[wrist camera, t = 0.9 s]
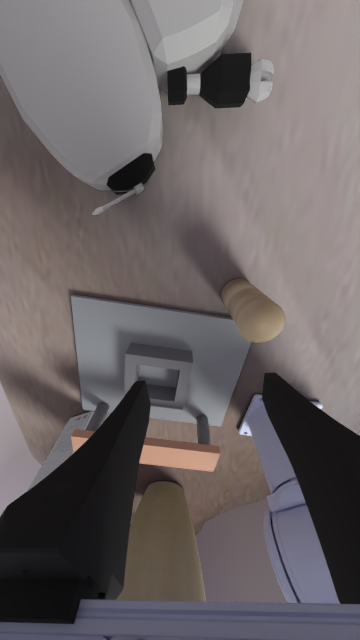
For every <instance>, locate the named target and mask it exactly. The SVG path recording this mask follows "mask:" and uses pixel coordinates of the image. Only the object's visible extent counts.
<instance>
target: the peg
mask: <svg viewBox="0 0 360 640" xmlns="http://www.w3.org/2000/svg"><path fill="white" fill-rule="evenodd" d="M221 297H222V300H223V302H224V304H225V306H226V308H227V310H228V311H229V313H230V315H231V317H232V319H233V321H234V322H235V324H236V326H237V328H238V330H239V331H240V333H241V335H242V336H243V337H244V338H245V339H246V340H248V341H251V342H255V343H261V342H266V341H269V340H271V339H273V338H274V337H276V336H277V335H278V334H279V333H280V332H281V331H282V329H283V327H284V324H285V313H284V311H283V309H282V308H281V307H280V306H279V305H277V304H276V303H275V302H274V301H272V300H271V299H270V298H268V297H267V296H266V295H265V294H263V293H262V292H261V291H260V290H258V289H257V288H256V287H254V286H253V285H252V284H251V283H249V282H248V281H247V280H245V279H242V278H236V279H232V280H230V281H229V282H227V283H226V284H225V286H224V287H223V289H222V293H221Z"/></svg>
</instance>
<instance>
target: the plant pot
mask: <svg viewBox="0 0 360 640" xmlns="http://www.w3.org/2000/svg"><path fill="white" fill-rule="evenodd" d="M116 600H148V601H205V602H206V597H205V590H204V584H203V577H202V571H201V565H200V560H199V554H198V549H197V544H196V539H195V534H194V529H193V525H192V521H191V516H190V512H189V508H188V504H187V501H186V497H185V493H184V490H183V489H182V487H181V486H179V485H178V484H176V483H173V482H168V481H158V482H154V483H152V484H150V485H149V486H148V487H147V489H146V491H145V493H144V495H143V497H142V499H141V501H140V503H139V506H138V508H137V510H136V512H135V515H134V517H133V520H132V522H131V524H130V531H129V539H128V548H127V558H126V568H125V577H124V588H123V590H122V592H121V593H120V595H119V596H118V598H117V599H116Z"/></svg>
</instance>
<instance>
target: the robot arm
mask: <svg viewBox="0 0 360 640" xmlns="http://www.w3.org/2000/svg"><path fill="white" fill-rule="evenodd" d="M260 398H261V399H260ZM322 407H323V405H322V404H321V403H319V402H312V401H309V400H308V399H306V398H305V397H304V396H303V395H301V394H300V393H299V392H298V391H296V390H295V389H294V388H293V387H292V386H291V385H289V384H288V383H287V382H286V381H285V380H284V379H282V378H281V377H280V376H279V375H278V374H276V373H265V376H264V385H263V393H262V395H259V394H256V395H254V396H253V398H252V401H251V403H250V405H249V407H248V410H247V412H246V414H245V417H244V419H243V421H242V424H241V426H240V428H239V434H241V435H248V436H252V438H253V441H254V444H255V447H256V450H257V453H258V456H259V459H260V462H261V465H262V468H263V471H264V474H265V477H266V480H267V484H268V487H269V490H270V493H271V495H269V496H267V500H268V504H269V507H270V509H267V510H266V511H265V516H264V522H263V529H264V536H265V542H266V547H267V550H268V554H269V557H270V561H271V564H272V567H273V569H274V573H275V576H276V578H277V580H278V583H279V585H280V588H281V590H282V592H283V594H284V596H285V598H286V600H287V601H288V603H261V602H259V603H258V602H205V601H148V600H116V599H117V598H118V596H119V595H120V593H121V592H122V590H123V588H124V577H125V568H126V558H127V548H128V539H129V531H130V522H131V514H132V507H133V499H134V492H135V485H136V479H137V472H138V467H139V462H140V457H141V453H142V449H143V445H144V440H145V436H146V432H147V427H148V423H149V416H150V408H151V403H150V399H149V394H148V390H147V386H146V382H145V381H135V382H134V384H133V385H132V386H131V388H130V389H129V391H128V392H127V393H126V395H125V396H124V397H123V399H122V400H121V401H120V403H119V404H118V405H117V407H116V408H115V409H114V410H113V412H112V413H111V414H110V415H109V416H108V418H107V419H106V420H105V421H104V422H103V424H102V425H101V426H100V427H99V428H98V429H97V430H96V431H95V432H94V433H93V435H92V436H91V437H90V438H89V439H88V440H87V441H86V442H85V443H84V444H83V445H82V446H81V447H80V448H78V449H77V450H76V451H75V452H74V453H73V454H72V455H71V456H70V457H69V458H68V459H67V460H65V461H64V462H63V463H62V464H61V465H60V466H58V467H57V468H56V469H55V470H54V471H53V472H51V473H50V474H49V475H48V476H46V477H45V478H44V479H43V480H41V481H40V482H39V483H38V484H36V485H35V486H34V487H32V488H31V489H30V490H28V491H27V492H26V493H24V494H23V495H22V496H20V497H19V498H18V499H16V500H15V501H14V502H12V503H11V504H9V505H8V506H7V508H6V509H5V511H4V512H3V514H2V515H1V517H0V640H360V436H359V435H357V434H356V433H354V432H352V431H351V430H349V429H348V428H346V427H345V426H343V425H342V424H340V423H339V422H337V421H336V420H334V419H333V418H332V417H330V416H329V415H327V414H326V413H325V412H323V411H322V410H321V409H322Z"/></svg>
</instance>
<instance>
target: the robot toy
mask: <svg viewBox="0 0 360 640" xmlns="http://www.w3.org/2000/svg"><path fill="white" fill-rule="evenodd" d="M243 1H244V0H0V76H1V78H2V80H3V82H4V84H5V86H6V87H7V89H8V91H9V93H10V95H11V97H12V99H13V101H14V103H15V105H16V107H17V109H18V111H19V113H20V115H21V117H22V119H23V120H24V121H25V123H26V124H27V125H28V126H29V128H30V129H31V130H32V131H33V132H34V134H35V135H36V136H37V137H38V139H39V140H40V141H41V142H42V143H43V145H44V146H45V147H46V148H47V150H48V151H49V152H50V153H51V154H52V155H53V156H54V157H55V158H56V159H57V160H58V162H59V163H60V164H61V165H62V166H63V167H64V168H65V169H66V170H68V171H69V172H70V173H71V174H73V175H74V176H75V177H77V178H78V179H80V180H81V181H83V182H84V183H86V184H88V185H90V186H91V187H93V188H95V189H97V190H99V191H103V190H112V191H113V192H115V193H116V194H117V195H118V194H124V195H122V196H120V197H118V198H117V199H115V200H113V201H111V202H109V203H107V204H106V205H104V206H102V207H101V206H100V207H98V208H96V209H95V210H94V212H93V213H92V215H98V214H100V213H102V212H104V210H106V209H107V208H109V207H111V206H113V205H115V204H116V203H118V202H120V201H122V200H124V199H126V198H127V197H129V196H131V195H133V194H135V193H136V195H137V194H139V193H140V192H142V191H144V187H143V184H145V183H146V182H147V181H148V179H149V178H150V176H151V175H152V173H153V172H154V170H155V167H154V161H155V159H156V157H157V155H158V154H159V152H160V150H161V149H162V137H163V123H162V111H161V100H160V95H159V90H158V88H160V89H161V90H163V91H165V92H166V93H168V103H169V105H181V104H184V103H185V101H186V98H187V95H200V96H201V97H202V98H203V99H204V100H205V101H207V102H208V103H209V104H210V105H212V106H213V107H214V108H231V107H241V106H242V105H243V103H244V101H245V99H246V97H247V98H249V99H250V100H252V101H253V102H259V101H261V100H264V99H266V98H267V97H268V95H269V94H270V92H271V89H272V84H273V82H261V81H265V80H271V78H272V76H273V73H274V67H273V64H272V62H271V61H268V60H265V59H260V60H259V61H257V62H256V63H254V64H253V65H252V66H251V53H241V54H222V55H220V54H221V51H222V48H223V47H224V45H225V44H226V42H227V41H228V39H229V38H230V36H231V35H232V33H233V32H234V30H235V27H236V24H237V21H238V17H239V14H240V11H241V7H242V4H243Z"/></svg>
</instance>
